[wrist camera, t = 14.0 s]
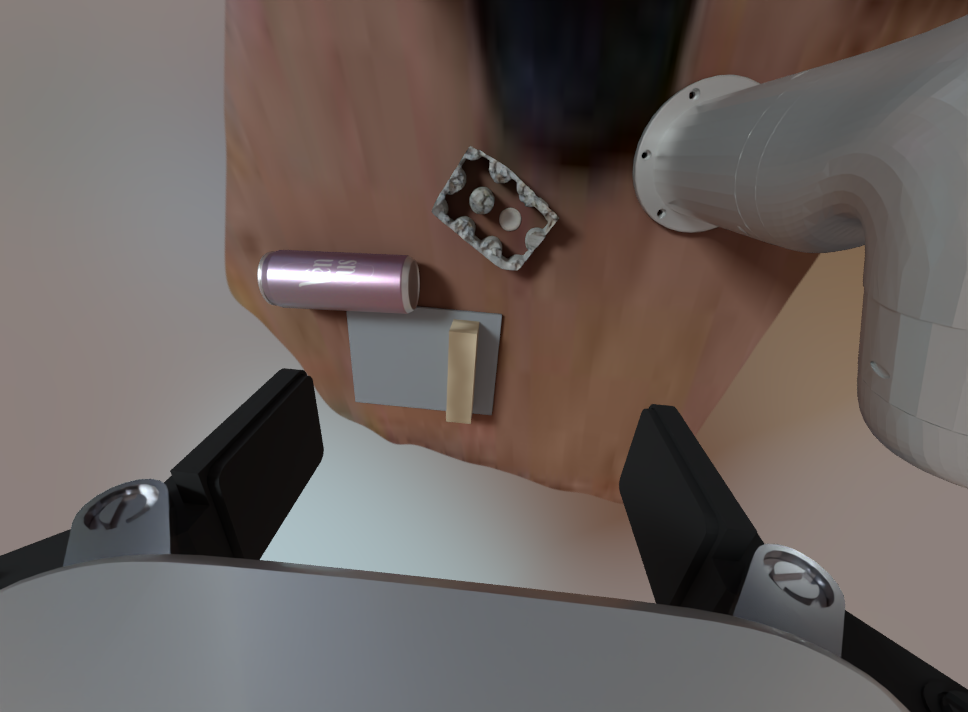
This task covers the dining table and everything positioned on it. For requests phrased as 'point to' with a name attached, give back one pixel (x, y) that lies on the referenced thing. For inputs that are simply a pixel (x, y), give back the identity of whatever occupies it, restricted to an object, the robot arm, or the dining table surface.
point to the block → (461, 370)
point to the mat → (417, 357)
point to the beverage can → (339, 281)
